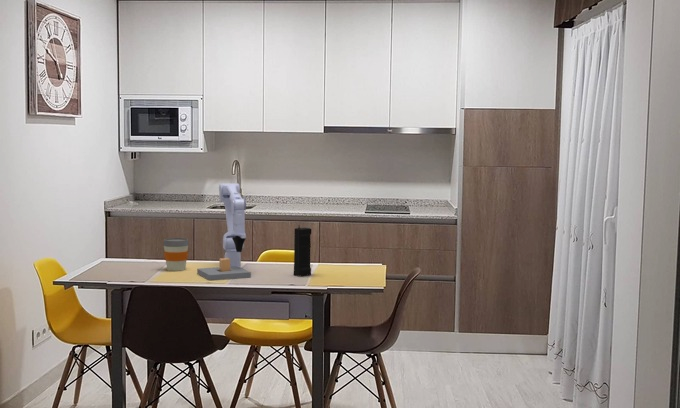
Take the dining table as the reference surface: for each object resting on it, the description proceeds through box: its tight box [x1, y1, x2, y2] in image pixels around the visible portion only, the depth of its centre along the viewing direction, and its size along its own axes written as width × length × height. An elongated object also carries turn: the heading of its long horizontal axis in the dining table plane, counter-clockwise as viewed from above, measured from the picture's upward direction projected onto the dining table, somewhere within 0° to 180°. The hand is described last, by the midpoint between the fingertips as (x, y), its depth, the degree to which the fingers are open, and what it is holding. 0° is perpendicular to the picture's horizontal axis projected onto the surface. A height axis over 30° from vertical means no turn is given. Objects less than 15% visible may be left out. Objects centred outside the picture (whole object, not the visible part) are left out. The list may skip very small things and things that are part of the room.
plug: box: [218, 257, 230, 272], centre depth 380 cm, size 4×4×8 cm
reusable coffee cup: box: [162, 237, 190, 272], centre depth 396 cm, size 13×13×15 cm
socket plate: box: [196, 266, 252, 282], centre depth 380 cm, size 20×20×2 cm
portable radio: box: [293, 226, 312, 277], centre depth 382 cm, size 8×6×25 cm
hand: (239, 251), depth 386 cm, fingers closed
